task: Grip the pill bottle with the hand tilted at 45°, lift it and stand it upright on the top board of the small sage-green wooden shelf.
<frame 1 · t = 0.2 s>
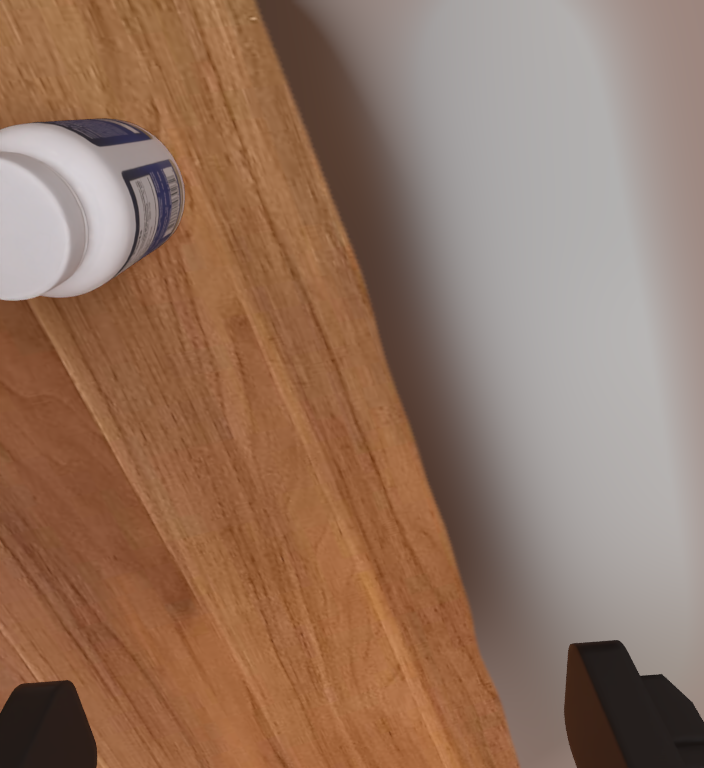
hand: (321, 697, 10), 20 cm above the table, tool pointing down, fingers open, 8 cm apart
pill bottle: (124, 188, 27), on the table
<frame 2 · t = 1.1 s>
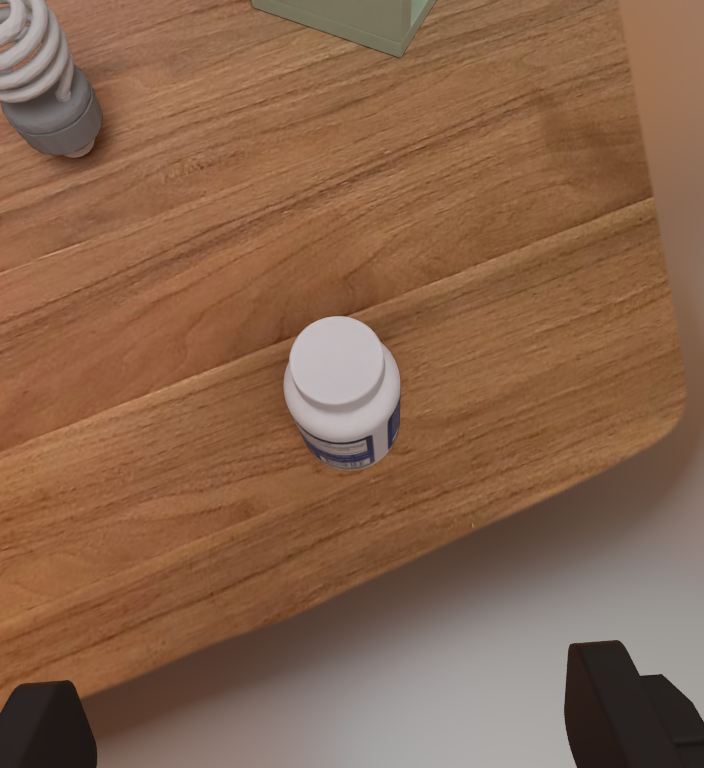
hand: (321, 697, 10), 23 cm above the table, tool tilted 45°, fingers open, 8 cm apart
light bulb: (83, 153, 43), on the table
pill bottle: (350, 425, 36), on the table
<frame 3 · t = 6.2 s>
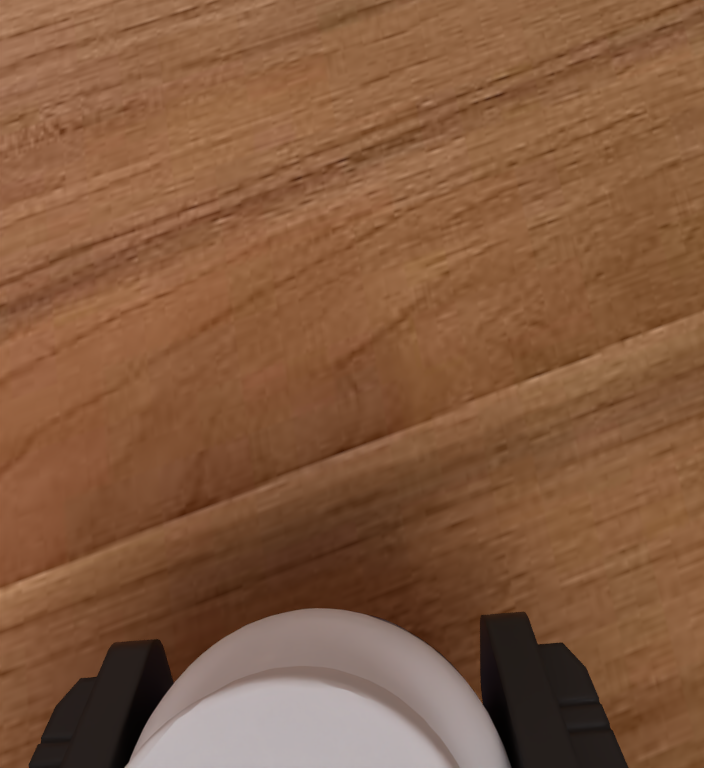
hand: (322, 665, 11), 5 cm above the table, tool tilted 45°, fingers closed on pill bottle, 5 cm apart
pill bottle: (348, 735, 15), on the table, touching gripper
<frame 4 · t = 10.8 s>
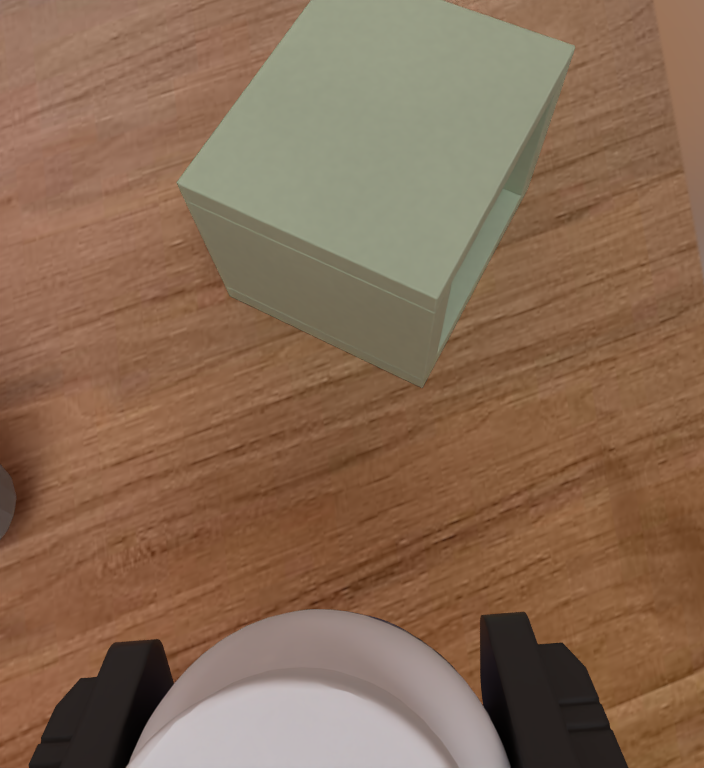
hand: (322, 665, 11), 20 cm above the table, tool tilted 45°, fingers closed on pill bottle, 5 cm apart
shelf: (381, 241, 37), on the table
pill bottle: (348, 735, 15), point 15 cm above the table, touching gripper
when the fingers open (15 cm above the table, at t = 15.7 s): pill bottle stays where it is, resting on shelf.
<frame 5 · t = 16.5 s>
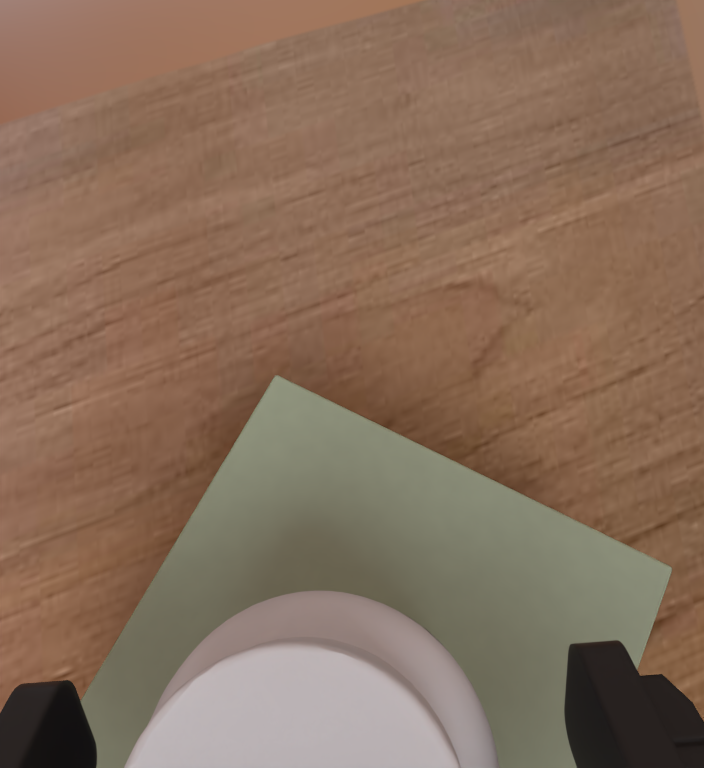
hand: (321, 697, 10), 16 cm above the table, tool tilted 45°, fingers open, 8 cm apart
shelf: (358, 678, 25), on the table
pill bottle: (346, 715, 16), point 10 cm above the table, touching shelf
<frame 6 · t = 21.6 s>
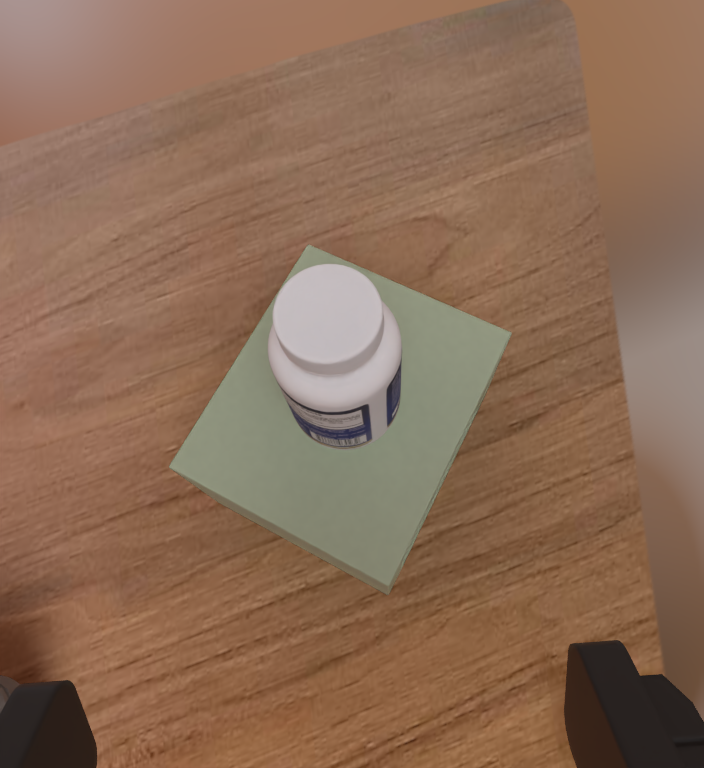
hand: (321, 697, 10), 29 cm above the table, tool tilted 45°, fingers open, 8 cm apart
light bulb: (15, 718, 37), on the table
shelf: (354, 448, 41), on the table
pill bottle: (345, 401, 32), point 10 cm above the table, touching shelf
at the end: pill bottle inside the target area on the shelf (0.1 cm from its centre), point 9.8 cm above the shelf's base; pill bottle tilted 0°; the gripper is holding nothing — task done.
